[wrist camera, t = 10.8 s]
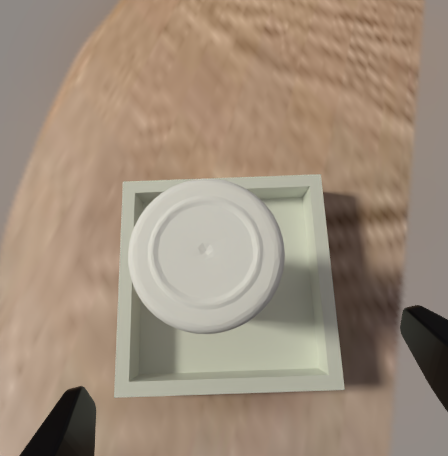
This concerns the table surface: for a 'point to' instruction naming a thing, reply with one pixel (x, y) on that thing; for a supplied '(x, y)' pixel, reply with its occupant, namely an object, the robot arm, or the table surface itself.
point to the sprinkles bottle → (206, 256)
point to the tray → (249, 332)
